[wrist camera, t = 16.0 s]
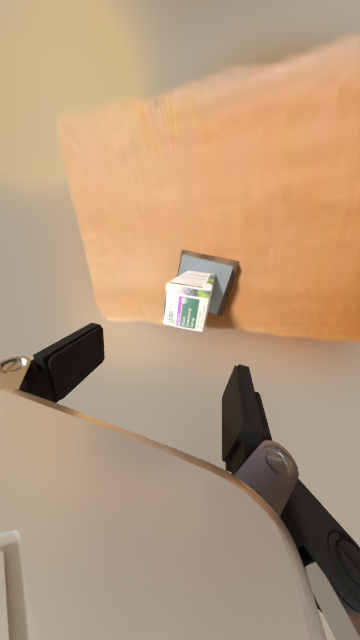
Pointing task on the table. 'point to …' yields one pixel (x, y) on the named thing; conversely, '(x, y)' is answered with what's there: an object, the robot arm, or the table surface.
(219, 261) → the tower base
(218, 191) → the table surface
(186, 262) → the tower top
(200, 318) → the syrup box
